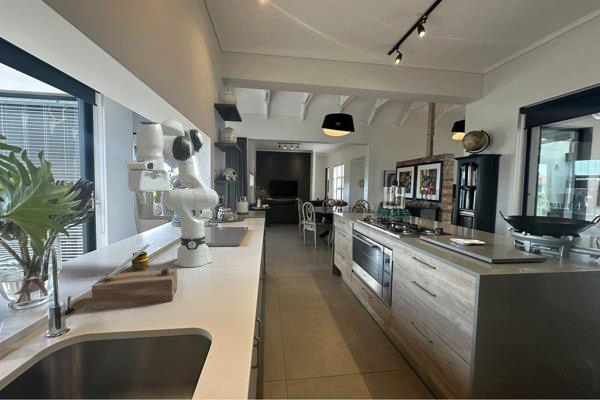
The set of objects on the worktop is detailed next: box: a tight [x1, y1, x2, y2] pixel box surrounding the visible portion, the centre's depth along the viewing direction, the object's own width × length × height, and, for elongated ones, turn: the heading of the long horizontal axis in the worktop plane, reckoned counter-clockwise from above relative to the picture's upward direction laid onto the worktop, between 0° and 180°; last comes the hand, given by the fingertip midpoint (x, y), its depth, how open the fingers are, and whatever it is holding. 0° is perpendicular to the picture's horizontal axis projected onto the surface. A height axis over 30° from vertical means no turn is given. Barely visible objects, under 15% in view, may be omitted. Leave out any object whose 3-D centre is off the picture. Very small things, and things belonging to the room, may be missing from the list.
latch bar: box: [105, 243, 151, 280], centre depth 95 cm, size 4×17×1 cm
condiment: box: [131, 251, 149, 272], centre depth 113 cm, size 7×8×12 cm
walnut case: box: [91, 267, 178, 310], centre depth 97 cm, size 12×24×10 cm, turn 107°
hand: (151, 203), depth 98 cm, fingers open, 8 cm apart
